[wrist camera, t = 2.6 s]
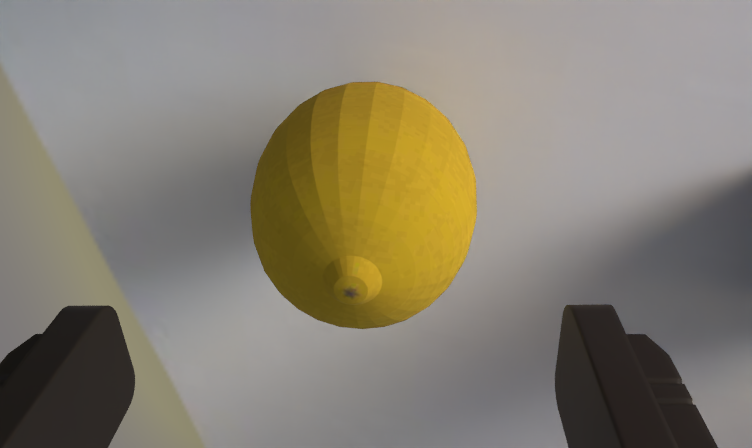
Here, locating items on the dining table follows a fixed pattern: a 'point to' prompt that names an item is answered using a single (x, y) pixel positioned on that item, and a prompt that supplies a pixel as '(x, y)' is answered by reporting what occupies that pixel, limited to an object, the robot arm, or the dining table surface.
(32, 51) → the dining table surface
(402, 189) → the lemon
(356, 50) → the dining table surface
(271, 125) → the dining table surface
